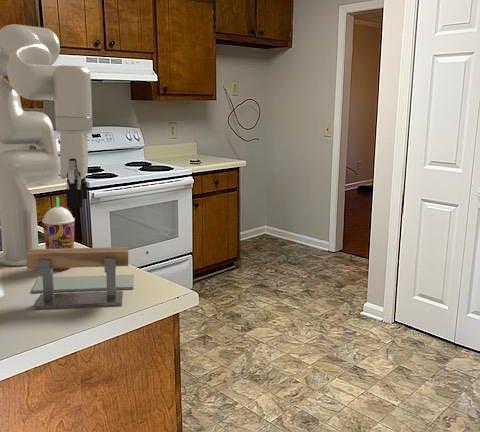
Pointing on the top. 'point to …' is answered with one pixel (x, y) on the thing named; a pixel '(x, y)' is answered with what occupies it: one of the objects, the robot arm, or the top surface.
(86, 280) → the mat
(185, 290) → the top surface
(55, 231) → the smoothie
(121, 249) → the rail
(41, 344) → the top surface
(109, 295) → the stand
